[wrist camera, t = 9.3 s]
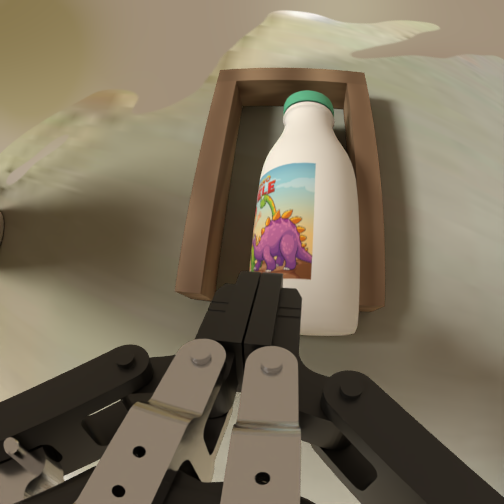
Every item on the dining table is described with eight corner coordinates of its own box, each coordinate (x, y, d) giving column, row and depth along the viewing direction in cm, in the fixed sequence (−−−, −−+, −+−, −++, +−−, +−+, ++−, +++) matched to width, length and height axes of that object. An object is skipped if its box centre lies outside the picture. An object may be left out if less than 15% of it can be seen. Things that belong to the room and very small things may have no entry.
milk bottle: (323, 337, 25) (327, 139, 30) (380, 334, 17) (364, 94, 23) (232, 329, 23) (257, 119, 29) (261, 325, 16) (283, 64, 22)
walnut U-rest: (191, 298, 26) (174, 291, 22) (227, 94, 32) (220, 70, 28) (371, 311, 24) (384, 306, 20) (359, 98, 30) (364, 72, 26)
